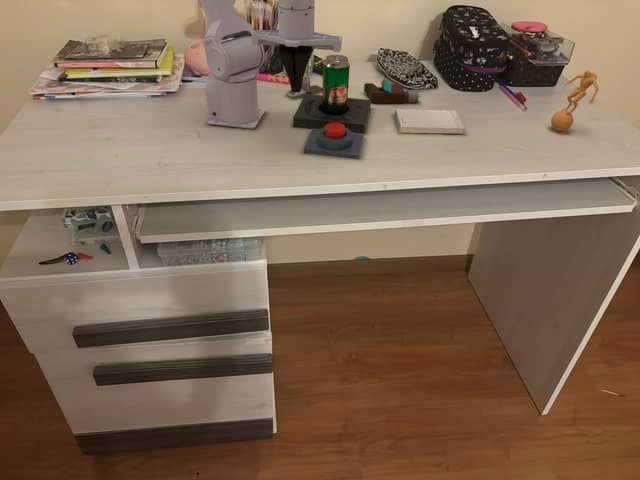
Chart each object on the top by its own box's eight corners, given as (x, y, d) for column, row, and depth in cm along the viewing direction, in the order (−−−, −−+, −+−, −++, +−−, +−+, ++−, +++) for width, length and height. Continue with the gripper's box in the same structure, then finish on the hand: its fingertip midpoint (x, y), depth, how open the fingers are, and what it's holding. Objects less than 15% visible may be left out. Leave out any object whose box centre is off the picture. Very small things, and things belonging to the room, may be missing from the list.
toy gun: (422, 104, 110) (426, 83, 107) (367, 105, 109) (369, 82, 106) (413, 87, 118) (416, 66, 115) (361, 87, 117) (363, 66, 114)
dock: (293, 127, 100) (293, 117, 99) (305, 102, 110) (305, 93, 108) (364, 134, 98) (365, 124, 97) (370, 108, 108) (371, 99, 107)
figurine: (538, 122, 105) (556, 63, 98) (563, 119, 106) (583, 61, 99) (563, 140, 99) (584, 79, 91) (589, 137, 100) (613, 77, 93)
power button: (323, 139, 92) (323, 130, 91) (326, 130, 95) (327, 121, 94) (343, 141, 92) (343, 132, 90) (345, 132, 94) (346, 123, 93)
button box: (303, 153, 92) (303, 140, 90) (311, 133, 98) (311, 121, 97) (358, 159, 91) (360, 146, 89) (363, 138, 97) (364, 126, 95)
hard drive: (400, 126, 98) (464, 126, 99) (395, 108, 105) (455, 109, 105) (399, 133, 99) (463, 134, 100) (394, 115, 106) (453, 116, 106)
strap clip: (293, 100, 110) (293, 81, 108) (285, 95, 112) (284, 76, 110) (323, 91, 115) (324, 72, 112) (315, 86, 117) (316, 68, 114)
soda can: (328, 124, 101) (331, 64, 94) (317, 114, 105) (318, 55, 97) (350, 120, 103) (355, 60, 96) (338, 110, 107) (341, 52, 99)
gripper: (243, 8, 77) (249, 95, 86) (338, 15, 76) (334, 103, 84) (256, -3, 83) (260, 80, 91) (345, 4, 81) (340, 87, 90)
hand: (296, 90), depth 88 cm, fingers closed
